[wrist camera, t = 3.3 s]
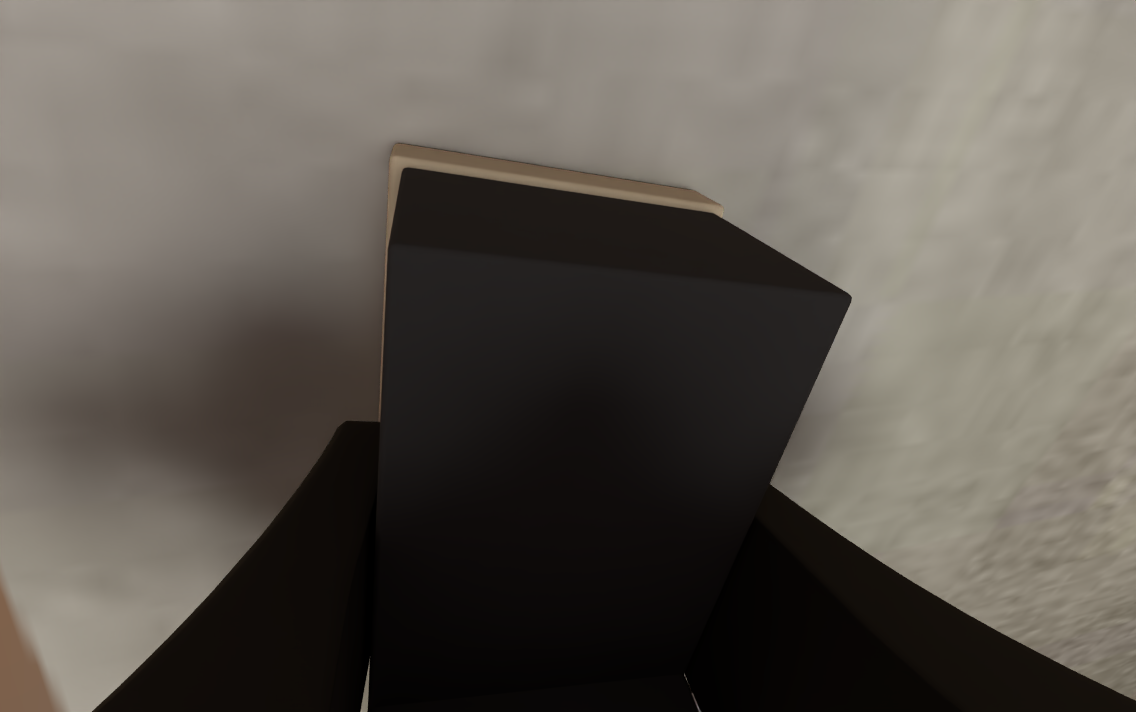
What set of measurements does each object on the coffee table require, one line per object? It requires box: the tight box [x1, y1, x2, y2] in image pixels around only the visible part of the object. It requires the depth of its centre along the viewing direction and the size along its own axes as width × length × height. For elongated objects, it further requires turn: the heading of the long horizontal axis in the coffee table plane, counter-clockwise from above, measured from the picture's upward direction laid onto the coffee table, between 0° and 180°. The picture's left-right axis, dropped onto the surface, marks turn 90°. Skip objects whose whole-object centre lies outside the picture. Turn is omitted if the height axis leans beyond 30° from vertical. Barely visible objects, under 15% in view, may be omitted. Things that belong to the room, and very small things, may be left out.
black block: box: [368, 143, 852, 712], centre depth 8 cm, size 9×4×6 cm, turn 169°
